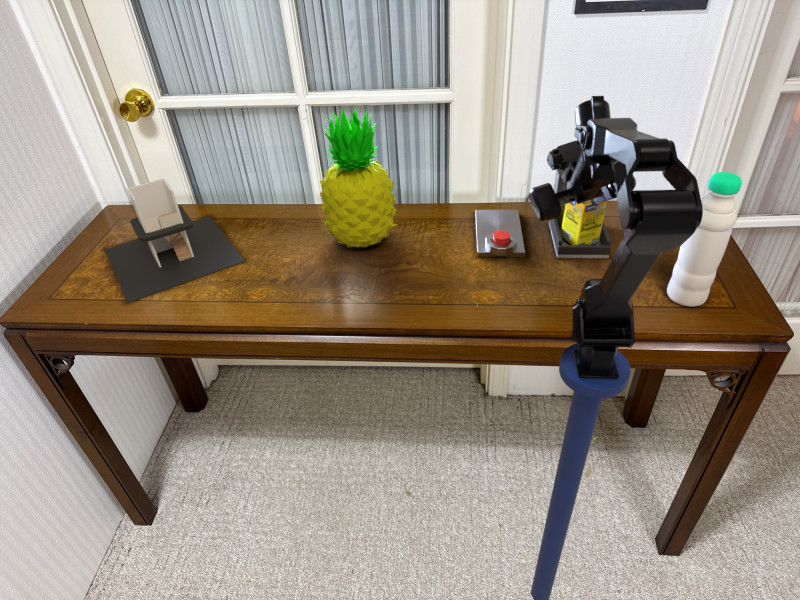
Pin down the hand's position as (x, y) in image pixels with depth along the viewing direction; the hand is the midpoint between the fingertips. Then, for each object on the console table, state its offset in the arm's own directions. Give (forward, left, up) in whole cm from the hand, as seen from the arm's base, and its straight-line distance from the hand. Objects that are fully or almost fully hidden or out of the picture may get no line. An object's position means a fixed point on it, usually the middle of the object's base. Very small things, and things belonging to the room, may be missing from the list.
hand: (571, 210), depth 112 cm
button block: (+10, +13, -12) cm, 20 cm away
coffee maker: (+7, -4, -12) cm, 14 cm away
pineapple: (+8, +44, -12) cm, 46 cm away
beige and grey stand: (+1, +86, -12) cm, 87 cm away
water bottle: (-12, -21, -12) cm, 27 cm away
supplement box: (+5, -4, -11) cm, 13 cm away
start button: (+3, +13, -9) cm, 16 cm away
